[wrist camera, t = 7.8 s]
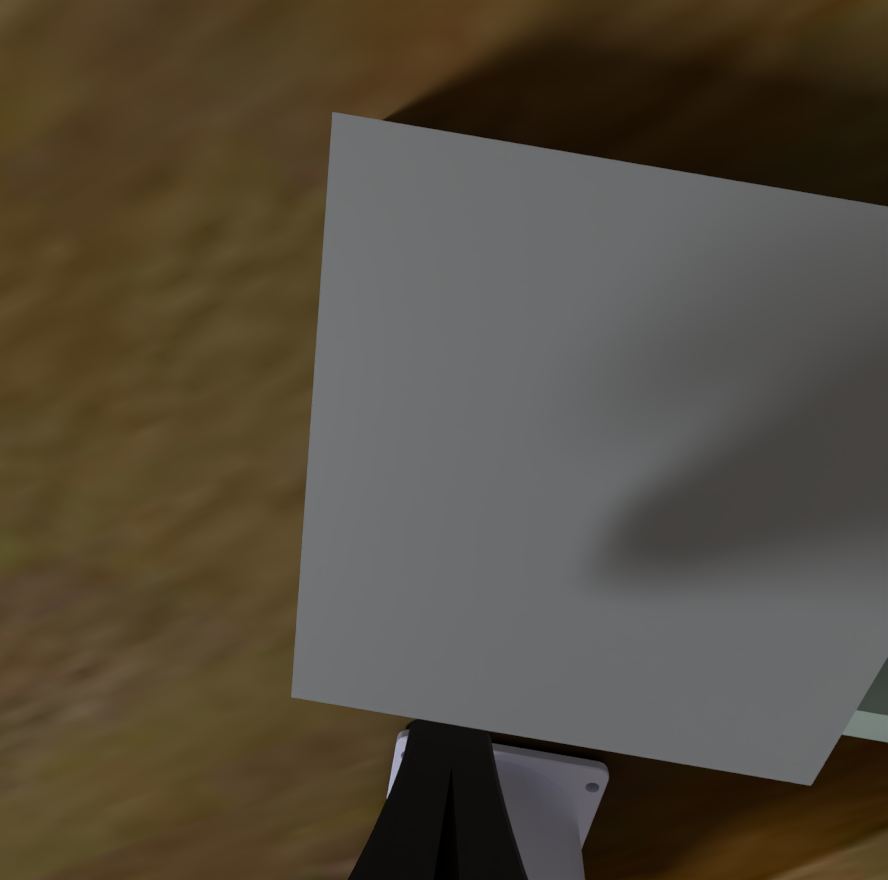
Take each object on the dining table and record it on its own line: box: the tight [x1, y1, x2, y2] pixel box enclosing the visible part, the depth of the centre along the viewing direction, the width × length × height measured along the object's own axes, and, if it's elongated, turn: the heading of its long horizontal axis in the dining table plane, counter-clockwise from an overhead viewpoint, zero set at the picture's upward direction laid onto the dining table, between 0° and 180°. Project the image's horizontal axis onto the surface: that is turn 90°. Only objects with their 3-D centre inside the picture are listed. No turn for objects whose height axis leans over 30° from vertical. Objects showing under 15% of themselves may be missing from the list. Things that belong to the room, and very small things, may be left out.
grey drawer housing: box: [291, 112, 888, 786], centre depth 16 cm, size 14×14×5 cm
